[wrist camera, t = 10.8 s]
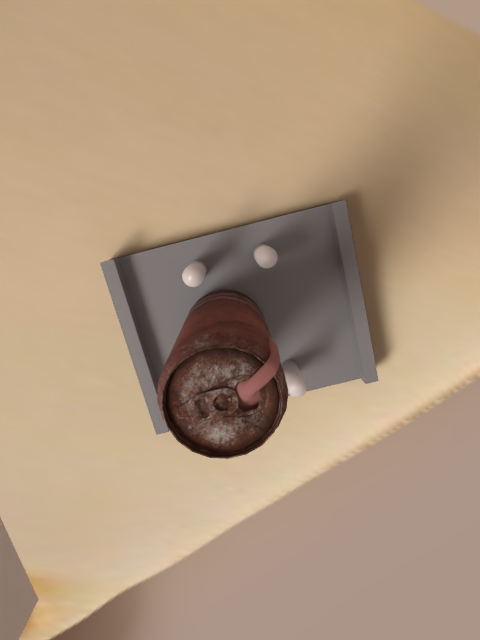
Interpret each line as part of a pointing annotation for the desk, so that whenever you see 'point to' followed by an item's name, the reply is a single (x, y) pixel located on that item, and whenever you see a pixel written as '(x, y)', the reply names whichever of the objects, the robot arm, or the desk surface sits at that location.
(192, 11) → the desk surface
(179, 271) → the tray
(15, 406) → the desk surface
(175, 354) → the can
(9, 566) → the robot arm
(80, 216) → the desk surface
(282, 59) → the desk surface
